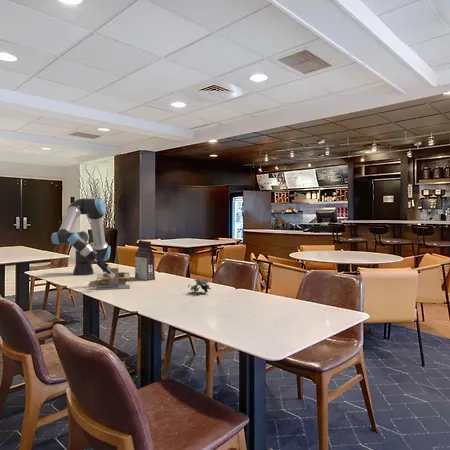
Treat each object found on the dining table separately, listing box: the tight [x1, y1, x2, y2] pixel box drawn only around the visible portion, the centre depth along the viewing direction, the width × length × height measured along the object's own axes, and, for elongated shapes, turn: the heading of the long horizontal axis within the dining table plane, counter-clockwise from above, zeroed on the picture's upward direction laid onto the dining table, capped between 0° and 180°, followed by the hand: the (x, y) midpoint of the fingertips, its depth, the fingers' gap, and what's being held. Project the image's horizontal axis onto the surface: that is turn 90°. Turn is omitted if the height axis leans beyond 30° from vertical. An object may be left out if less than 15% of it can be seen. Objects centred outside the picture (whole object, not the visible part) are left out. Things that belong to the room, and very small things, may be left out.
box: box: [109, 267, 119, 288], centre depth 240 cm, size 6×6×12 cm
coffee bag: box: [134, 240, 156, 282], centre depth 274 cm, size 16×9×28 cm, turn 46°
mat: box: [96, 284, 131, 291], centre depth 240 cm, size 11×20×1 cm, turn 107°
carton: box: [96, 271, 131, 286], centre depth 259 cm, size 26×22×5 cm
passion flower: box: [187, 277, 211, 295], centre depth 225 cm, size 11×11×12 cm
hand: (114, 275), depth 240 cm, fingers open, 13 cm apart
